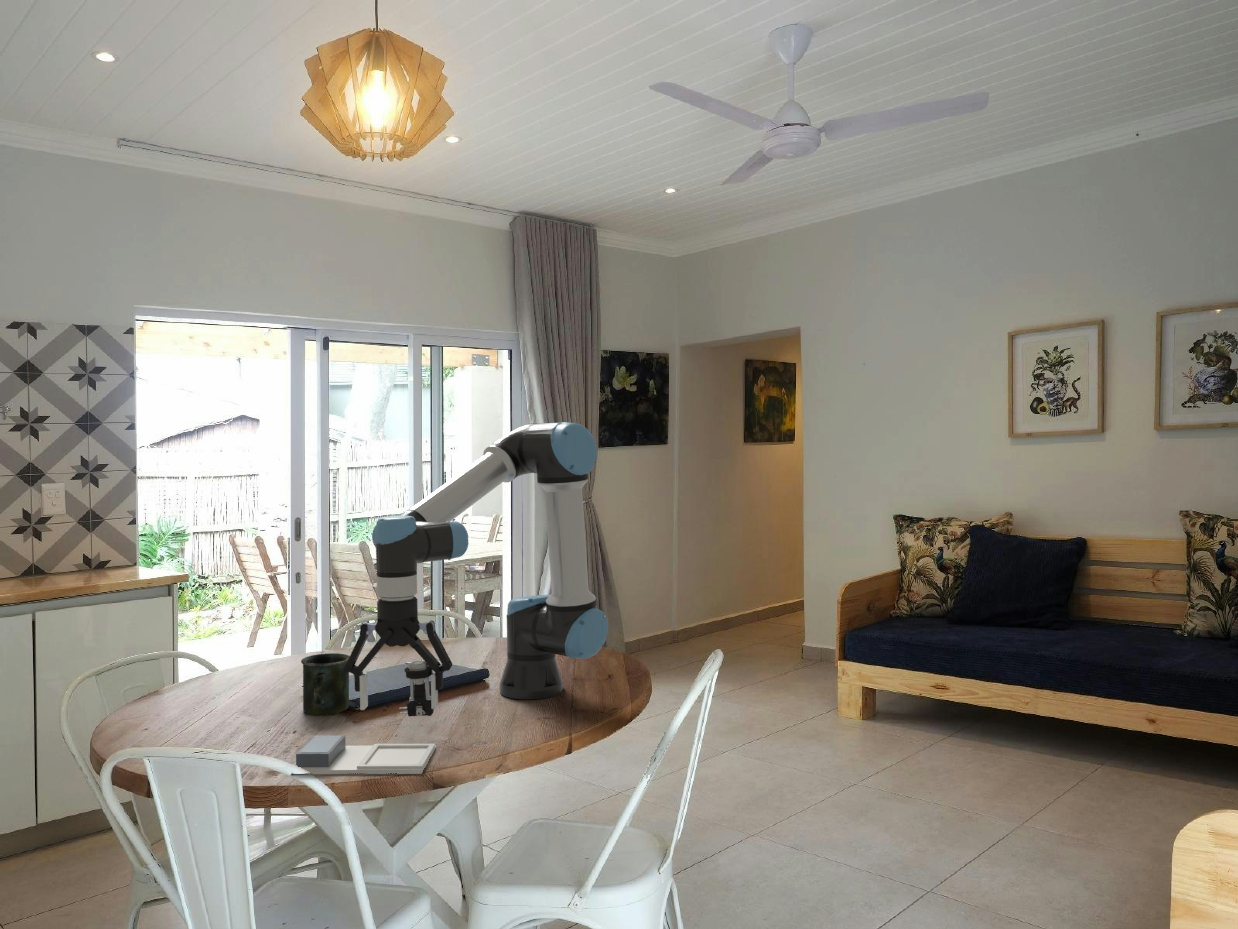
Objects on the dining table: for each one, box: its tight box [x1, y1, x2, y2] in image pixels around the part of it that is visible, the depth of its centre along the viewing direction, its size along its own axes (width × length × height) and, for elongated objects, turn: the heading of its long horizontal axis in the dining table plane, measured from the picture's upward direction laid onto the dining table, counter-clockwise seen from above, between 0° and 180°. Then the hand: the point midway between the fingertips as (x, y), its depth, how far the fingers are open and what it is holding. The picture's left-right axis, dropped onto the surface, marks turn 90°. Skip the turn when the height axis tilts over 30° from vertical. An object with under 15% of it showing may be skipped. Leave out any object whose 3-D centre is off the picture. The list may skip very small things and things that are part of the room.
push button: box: [399, 660, 435, 717], centre depth 175 cm, size 7×5×10 cm
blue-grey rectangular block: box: [295, 734, 346, 767], centre depth 175 cm, size 6×11×3 cm, turn 1°
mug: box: [300, 652, 350, 717], centre depth 208 cm, size 11×15×12 cm
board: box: [301, 743, 437, 775], centre depth 175 cm, size 24×14×1 cm, turn 91°
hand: (399, 707), depth 175 cm, fingers open, 13 cm apart
